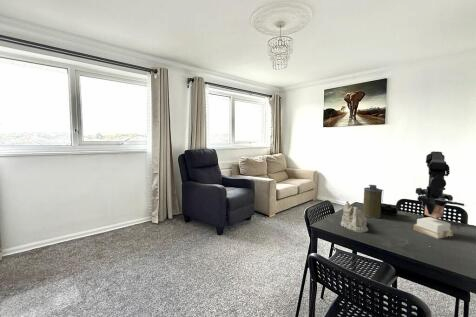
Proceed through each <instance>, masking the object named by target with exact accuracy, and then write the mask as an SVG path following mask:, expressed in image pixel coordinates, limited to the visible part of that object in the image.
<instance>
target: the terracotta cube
mask: <svg viewBox="0 0 476 317" xmlns="http://www.w3.org/2000/svg"><path fill="white" fill-rule="evenodd" d="M424 207H425V215H428V216H431V217H434V218H436V219H438V218H443V217H444V211H445V210H444V209H445V206H444V207H443V206H439V205H436V206H435V208H434V210H433V213H432V214H431V215H430V214H429V213H428V210H427V207H426V205H425V206H424Z"/></svg>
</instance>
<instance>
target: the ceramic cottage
mask: <svg viewBox="0 0 476 317" xmlns="http://www.w3.org/2000/svg"><path fill="white" fill-rule="evenodd" d="M367 222H368V219H367V217H366V216H364V215H363V210H361V209H358V207H356V206H352V205H351V204H350V202H349V200H346V202H345V203H344V207H343V209H342V215H341V222H340V226H342V227H343V226H344V227H343V228H345V227H346V228H345V229H348V230H350V231H352V230H353V232H354V233H355V232H356V233H367V232H368V231H369V228H368V227H367V225H368V223H367Z"/></svg>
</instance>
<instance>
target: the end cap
mask: <svg viewBox="0 0 476 317" xmlns="http://www.w3.org/2000/svg"><path fill="white" fill-rule="evenodd" d="M398 212H399V205H397V204H391V203H390V204H389V203H384V202H383V204H382V202H381V213H380V216H386V217H393V218H397V216H398Z"/></svg>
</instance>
